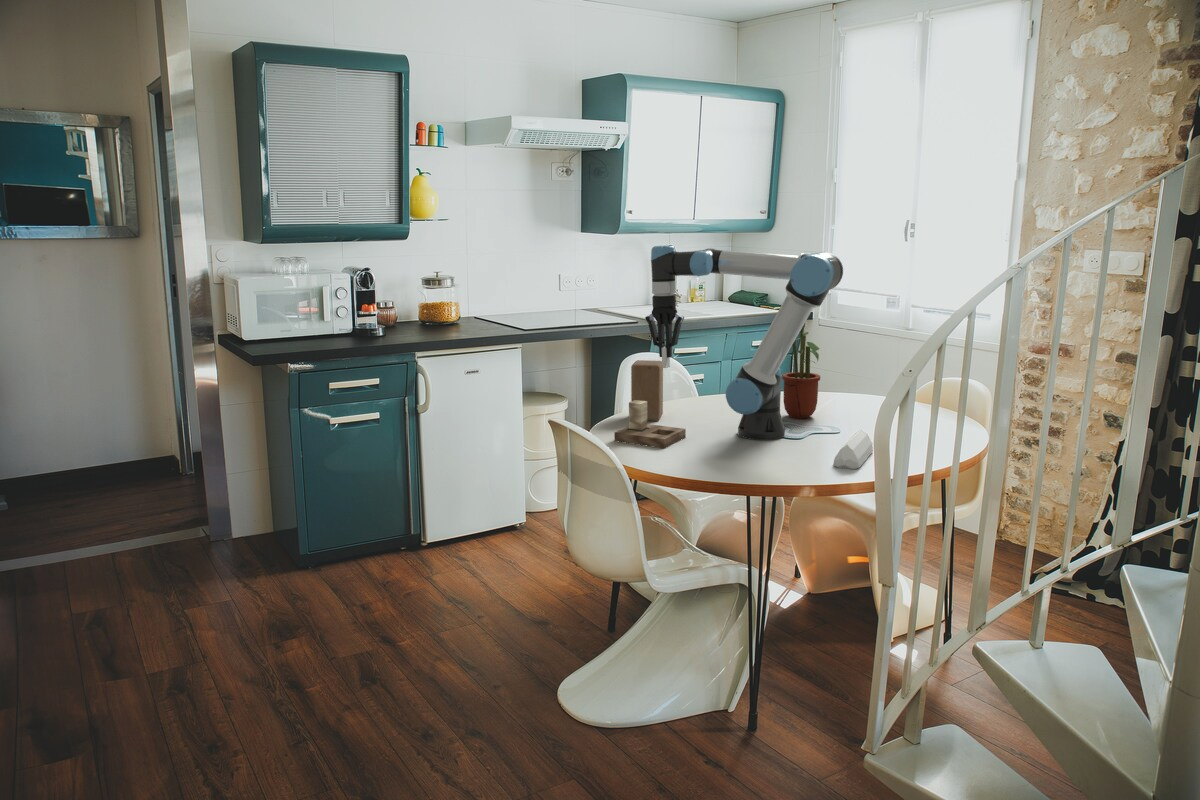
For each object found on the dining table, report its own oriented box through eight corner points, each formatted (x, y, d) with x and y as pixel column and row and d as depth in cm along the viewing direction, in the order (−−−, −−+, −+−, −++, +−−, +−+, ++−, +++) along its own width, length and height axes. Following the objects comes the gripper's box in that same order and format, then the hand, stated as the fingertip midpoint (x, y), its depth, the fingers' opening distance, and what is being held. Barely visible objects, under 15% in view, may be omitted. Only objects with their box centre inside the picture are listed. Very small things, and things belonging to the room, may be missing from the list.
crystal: (864, 459, 263) (881, 439, 284) (843, 444, 265) (860, 426, 286) (850, 479, 266) (867, 458, 287) (829, 464, 268) (847, 445, 289)
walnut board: (685, 437, 303) (685, 428, 302) (664, 448, 290) (664, 439, 290) (636, 431, 312) (636, 422, 311) (614, 441, 299) (614, 432, 299)
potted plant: (816, 422, 321) (820, 321, 314) (771, 419, 326) (774, 320, 319) (821, 411, 337) (825, 315, 330) (778, 408, 342) (781, 313, 335)
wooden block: (659, 421, 325) (659, 365, 320) (630, 420, 326) (630, 364, 322) (663, 415, 334) (663, 360, 330) (635, 414, 336) (635, 359, 332)
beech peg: (647, 437, 304) (647, 401, 301) (640, 440, 300) (640, 404, 298) (635, 435, 306) (635, 399, 304) (628, 438, 303) (628, 402, 300)
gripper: (687, 293, 298) (689, 366, 302) (650, 293, 304) (652, 364, 309) (678, 295, 291) (679, 370, 296) (640, 295, 297) (642, 368, 302)
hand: (666, 367), depth 302 cm, fingers closed
